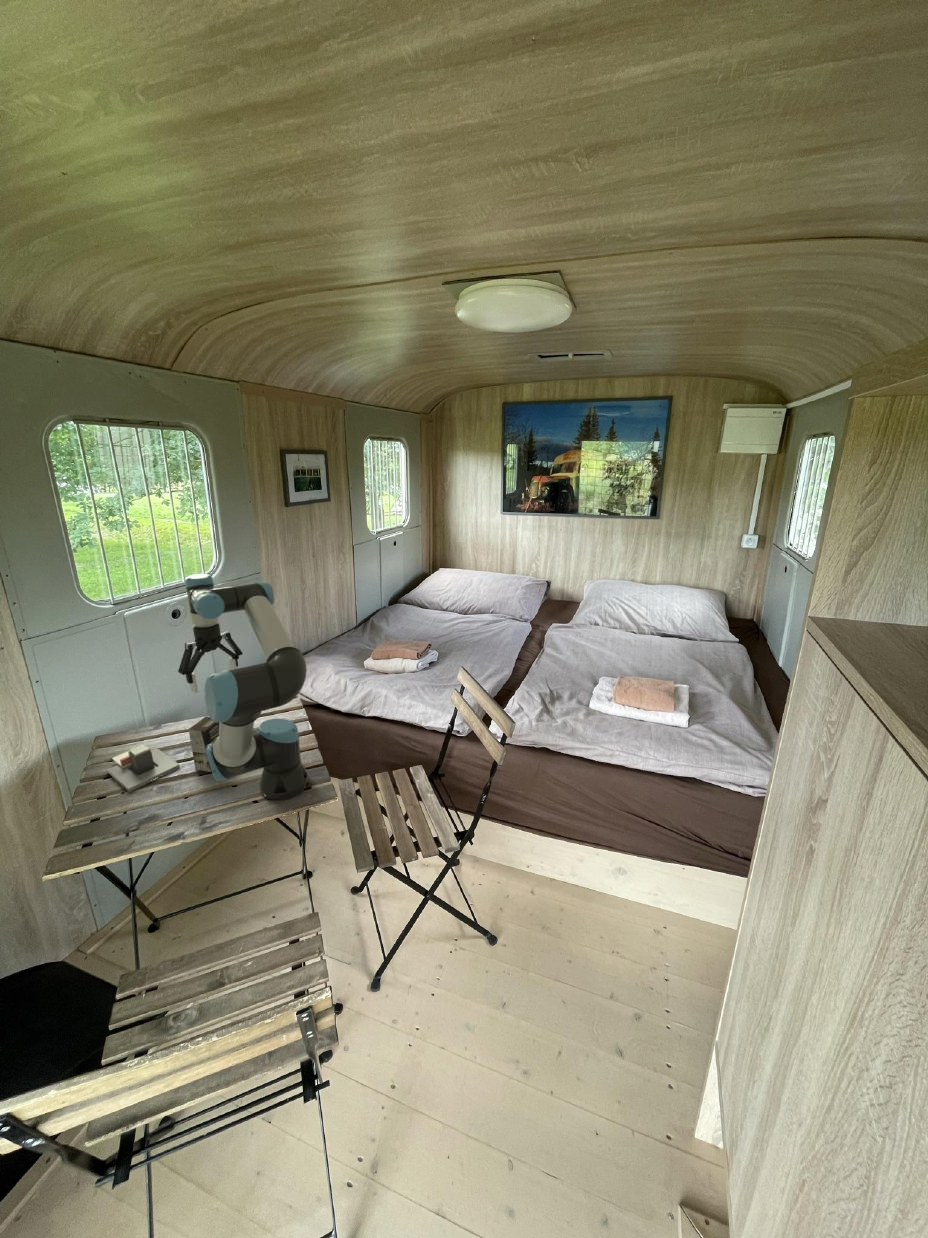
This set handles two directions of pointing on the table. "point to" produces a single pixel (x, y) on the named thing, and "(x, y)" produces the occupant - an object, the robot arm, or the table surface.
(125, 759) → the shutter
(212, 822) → the table surface
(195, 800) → the table surface
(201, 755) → the coffee box
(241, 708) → the robot arm
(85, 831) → the table surface
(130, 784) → the socket plate
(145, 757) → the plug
